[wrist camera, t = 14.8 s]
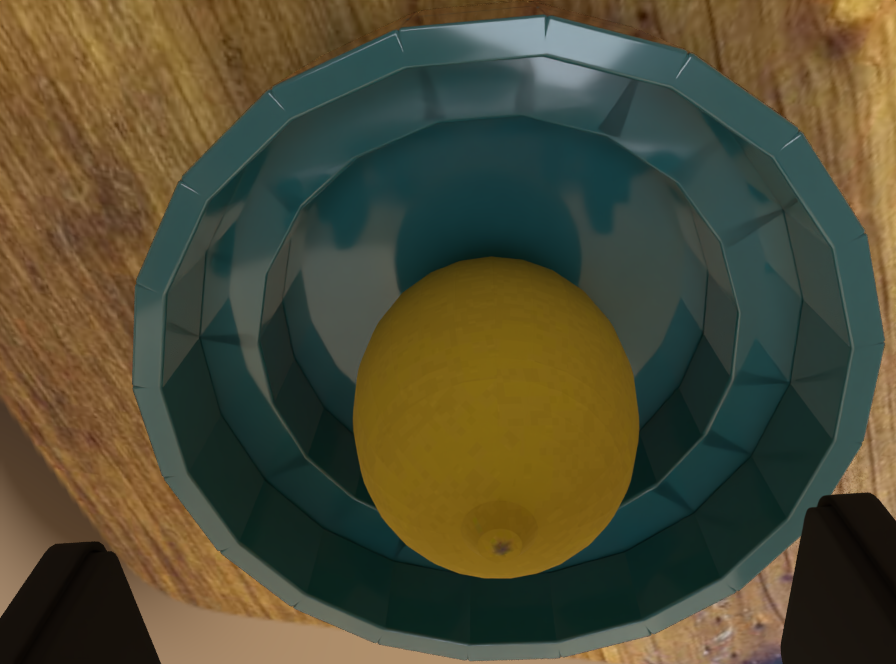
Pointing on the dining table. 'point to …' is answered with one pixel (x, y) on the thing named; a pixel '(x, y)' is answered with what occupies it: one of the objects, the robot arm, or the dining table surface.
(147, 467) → the dining table surface
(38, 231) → the dining table surface
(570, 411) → the lemon
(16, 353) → the dining table surface
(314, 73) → the bowl
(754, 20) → the dining table surface
